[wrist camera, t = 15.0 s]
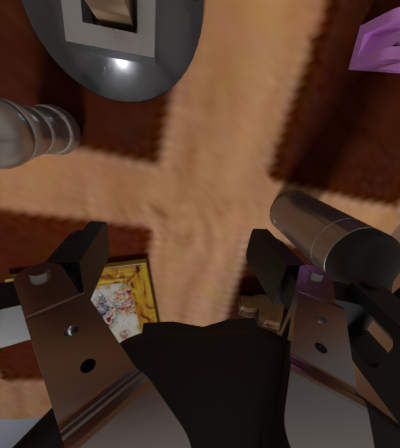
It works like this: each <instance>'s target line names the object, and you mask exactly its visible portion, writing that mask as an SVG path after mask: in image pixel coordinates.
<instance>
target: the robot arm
mask: <svg viewBox="0 0 400 448" xmlns="http://www.w3.org/2000/svg"><path fill="white" fill-rule="evenodd" d="M270 219H271V222H272V224H273V225H274V226H275V227H276V228H277V229H278V230H279V231H280V232H281V233H282V234H283V235H284V236H285V237H286V238H287V239H288V240H289V241H291V242H292V243H293V244H294V245H295V246H296V247H297V248H298V249H299V250H300V251H301V252H302V253H303V254H304V255H305V256H306V257H307V258H309V259H310V260H311V261H312V262H313V263H314V264H315V265H316V266H317V267H315V266H311V265H305V264H304V263H303V262H302V261H301V260H300V259H299V258H298V257H297V256H296V255H295V254H294V253H292V251H291V250H290V249H289V248H288V247H287V246H286V245H285V244H284V243H283V242H282V241H280V240H278V239H277V238H275V237H274V236H273V235H272V234H271V233H270V232H269V231H268V230H267V229H253V230H252V233H251V237H250V240H249V244H248V248H247V253H246V257H247V262H248V263H249V265H250V267H251V268H252V270H253V272H254V274H255V275H256V277H257V279H258V280H259V282H260V284H261V285H262V287H263V289H264V290H265V292H266V294H267V296H268V297H269V299H270V301H271V302H272V304H273V305H279V304H283V305H284V308H283V311H282V314H281V319H280V323H279V328H278V332H277V334H276V333H274V332H272V331H269V330H267V329H263V328H259V327H258V325H257V323H256V320H255V318H245V319H228V320H225V321H221V322H218V323H215V324H212V325H208V326H205V327H200V326H194V325H189V324H183V323H178V322H150V323H143V330H142V333H139V334H136V335H134V336H131V337H129V338H127V339H125V340H123V341H122V342H120V343H119V342H118V340H117V339H116V337H115V336H114V334H113V333H112V331H111V330H110V328H109V327H108V325H107V324H106V322H105V321H104V319H103V318H102V316H101V315H100V313H99V311H98V310H97V308H96V307H95V305H94V304H93V302H92V301H91V298H92V296H93V293H94V291H95V289H96V286H97V284H98V282H99V279H100V277H101V275H102V272H103V270H104V268H105V265H106V263H107V261H108V257H109V238H108V226H107V223H106V222H97V221H90V222H89V223H88V224H87V225H86V227H85V228H84V229H83V230H77V231H76V232H74V233H72V234H70V235H68V237H67V238H66V239H65V240H64V242H62V243H61V245H60V246H59V247H58V248H57V249H56V250H55V251H54V253H53V254H52V255H51V256H50V257H49V258H48V259H47V261H46V262H45V263H40V264H36V265H33V266H30V267H28V268H26V269H24V270H22V271H21V272H19V273H18V274H17V275H16V276H15V278H14V281H10V282H5V283H0V351H1V349H2V348H3V347H5V346H9V345H12V344H15V343H19V342H22V341H26V340H29V339H31V341H32V344H33V347H34V350H35V354H36V357H37V360H38V363H39V366H40V370H41V373H42V376H43V379H44V382H45V386H46V389H47V392H48V395H49V398H50V402H51V405H52V408H51V409H50V410H49V411H48V412H47V413H46V414H45V415H44V416H43V417H42V418H41V419H40V420H39V421H38V422H37V423H36V424H35V425H34V426H33V427H32V428H31V430H29V432H27V433H26V435H24V437H23V438H22V439H21V440H20V441H19V442H18V443H17V444H16V445H15V446H14V447H13V448H400V425H399V424H400V288H399V289H397V290H396V291H395V292H394V293H391V292H392V285H393V282H394V279H395V277H396V275H397V273H398V271H399V268H400V243H399V242H398V241H397V240H396V239H395V238H393V237H392V236H390V235H388V234H386V233H384V232H382V231H380V230H378V229H376V228H374V227H372V226H370V225H368V224H366V223H364V222H362V221H360V220H358V219H355V218H354V217H352V216H350V215H348V214H346V213H344V212H342V211H340V210H338V209H336V208H334V207H332V206H330V205H328V204H326V203H324V202H322V201H320V200H318V199H316V198H314V197H312V196H310V195H308V194H306V193H304V192H301V191H296V190H294V191H289V192H286V193H284V194H283V195H281V196H280V197H279V198H278V199H277V200H276V201H275V202H274V204H273V205H272V208H271V211H270ZM373 320H374V321H375V322H376V324H377V325H378V326H379V327H380V328H381V329H382V330H383V331H384V332H385V333H386V334H387V335H388V336H389V337H390V338H391V339H392V340H393V348H392V349H391V351H390V352H389V353H388V352H387V351H386V350H385V349H384V348H383V347H382V346H381V344H380V343H379V342H378V341H377V340H376V339H375V338H374V337H373V336H372V335H371V334H370V332H369V331H368V330H367V328H368V327H369V325H370V324H371V322H372V321H373ZM352 360H353V362H354V363H355V364H356V366H357V367H358V368H359V370H360V371H361V373H362V374H363V375H364V377H365V378H366V379H367V380H368V382H369V383H370V385H371V386H372V387H373V389H374V390H375V392H376V393H377V394H378V396H379V397H380V398H381V400H382V401H383V402H384V404H385V405H386V406H387V408H388V409H389V411H390V412H391V413H392V415H393V416H394V417H395V419H396V420H397V421H398V423H399V424H398V423H396V422H395V421H393V420H392V419H391V418H390V417H389V416H387V415H386V414H385V413H383V412H382V411H381V410H379V409H378V408H377V407H375V406H374V405H373V404H371V403H370V402H369V401H367V400H366V399H365V398H363V397H362V396H361V395H359V394H358V392H357V388H356V382H355V375H354V369H353V362H352Z"/></svg>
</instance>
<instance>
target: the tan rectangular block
mask: <svg viewBox="0 0 400 448" xmlns="http://www.w3.org/2000/svg"><path fill="white" fill-rule="evenodd" d="M85 1H86V3H87V4H88V6H89V7H90V9H91V10H92V12H93V13H94V15H95V16H96V18H97V20H98V21H99V23H100V24H101V26H103V27H108V28H113V29H118V30H123V31H127V32H132V33H136V20H135V0H85Z"/></svg>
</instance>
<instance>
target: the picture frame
mask: <svg viewBox="0 0 400 448" xmlns="http://www.w3.org/2000/svg"><path fill="white" fill-rule="evenodd" d="M16 275H17V274H11V275H9V276H8V277H7V278H6V279H5V282H10V281H14V278H15V276H16ZM91 301H92V302H93V304H94V305H95V307H96V308H97V310H98V311H99V313H100V315H101V316H102V318H103V319H104V321H105V322H106V324H107V325H108V327H109V328H110V330H111V331H112V333H113V334H114V336H115V337H116V339H117V340H118V342H119V343H120V342H122V341H123V340H125V339H127V338H129V337H131V336H134V335H136V334H139V333H142V330H143V323H150V322H158V317H157V312H156V307H155V302H154V296H153V291H152V286H151V280H150V275H149V270H148V264H147V259H138V260H130V261H121V262H113V263H106V265H105V268H104V270H103V272H102V275H101V277H100V279H99V282H98V284H97V286H96V289H95V291H94V293H93V296H92V298H91Z"/></svg>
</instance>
